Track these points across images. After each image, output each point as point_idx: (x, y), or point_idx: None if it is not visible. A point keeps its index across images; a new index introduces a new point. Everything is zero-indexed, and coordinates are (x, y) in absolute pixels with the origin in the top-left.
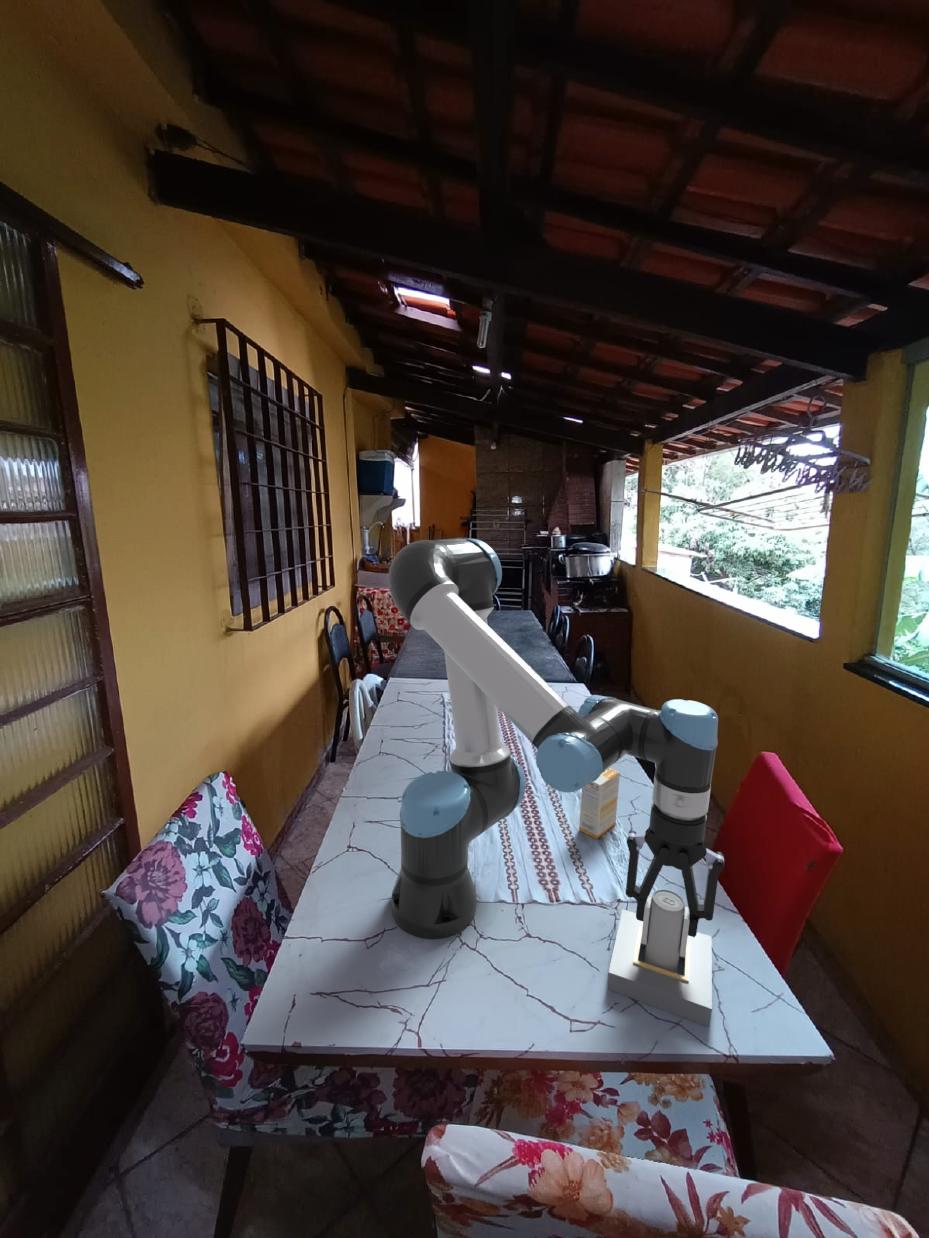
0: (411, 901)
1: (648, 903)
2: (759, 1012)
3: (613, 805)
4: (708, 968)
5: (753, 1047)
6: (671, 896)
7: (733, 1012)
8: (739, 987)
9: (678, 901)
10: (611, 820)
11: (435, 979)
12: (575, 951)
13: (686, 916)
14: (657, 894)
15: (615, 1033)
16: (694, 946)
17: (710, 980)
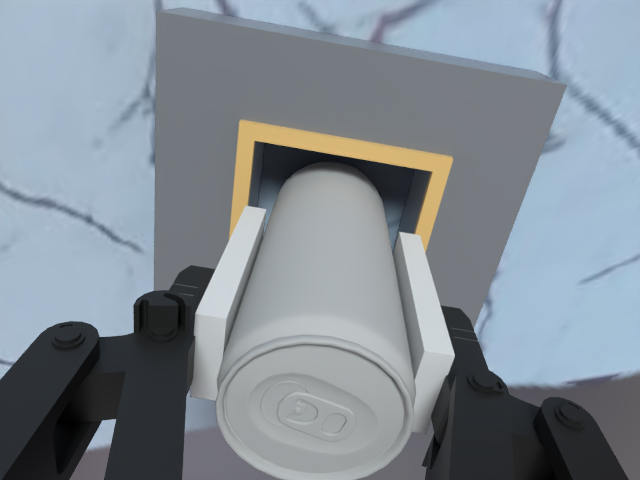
0: None
1: (209, 370)
2: (605, 279)
3: None
4: (488, 257)
5: (535, 372)
6: (338, 383)
7: (524, 295)
8: (584, 207)
9: (378, 412)
10: None
11: None
12: (53, 198)
13: (414, 416)
14: (247, 382)
15: (209, 402)
16: (466, 165)
17: (479, 301)
